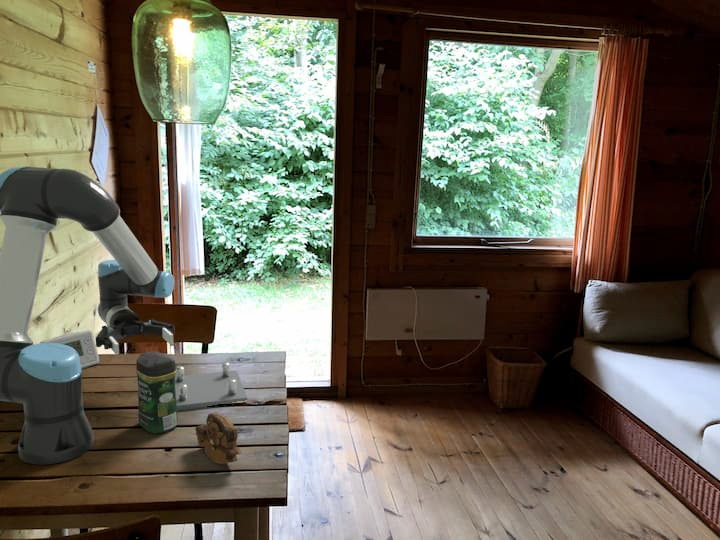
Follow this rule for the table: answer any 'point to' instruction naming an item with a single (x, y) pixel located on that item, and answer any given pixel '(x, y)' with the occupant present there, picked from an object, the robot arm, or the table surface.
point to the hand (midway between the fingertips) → (145, 344)
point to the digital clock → (80, 346)
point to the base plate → (207, 388)
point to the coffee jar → (156, 392)
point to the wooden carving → (218, 439)
